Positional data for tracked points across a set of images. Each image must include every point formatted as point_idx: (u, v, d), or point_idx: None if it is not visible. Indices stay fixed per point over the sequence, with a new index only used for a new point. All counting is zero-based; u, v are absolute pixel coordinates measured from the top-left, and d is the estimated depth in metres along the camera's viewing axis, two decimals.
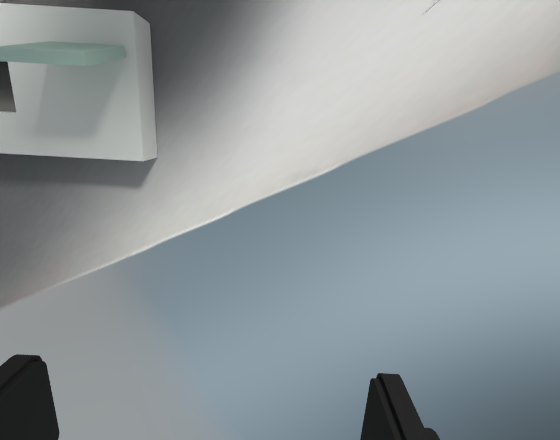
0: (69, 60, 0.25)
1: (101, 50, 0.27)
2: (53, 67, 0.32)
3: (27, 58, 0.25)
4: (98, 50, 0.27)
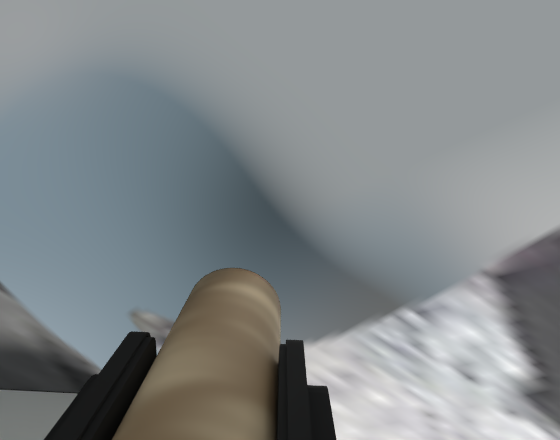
0: None
1: None
2: None
3: None
4: None
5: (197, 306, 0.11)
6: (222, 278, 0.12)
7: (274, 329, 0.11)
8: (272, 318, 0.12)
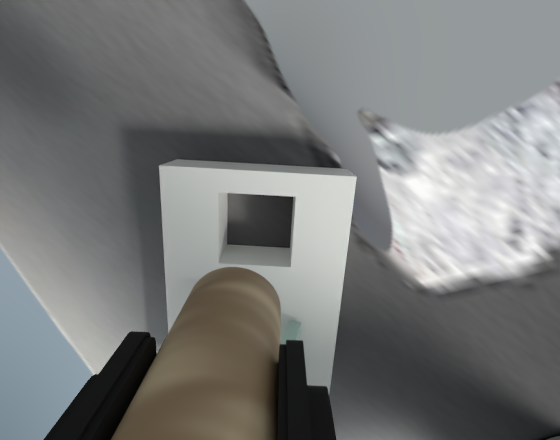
0: None
1: None
2: None
3: None
4: None
5: (197, 305, 0.11)
6: (222, 277, 0.12)
7: (274, 328, 0.11)
8: (272, 316, 0.12)
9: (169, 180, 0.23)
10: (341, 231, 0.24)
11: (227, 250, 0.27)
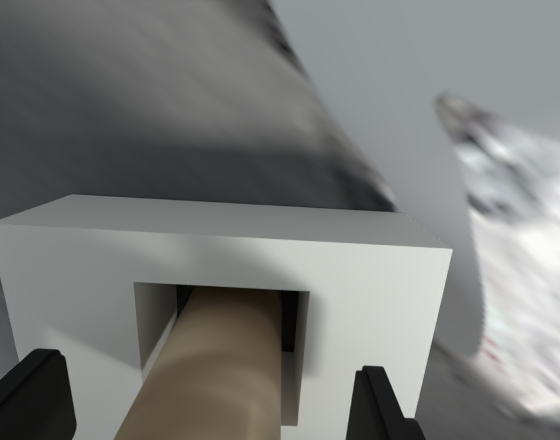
0: None
1: None
2: None
3: None
4: None
5: (205, 291, 0.12)
6: None
7: (276, 313, 0.12)
8: (274, 302, 0.13)
9: (17, 256, 0.10)
10: (408, 361, 0.11)
11: None
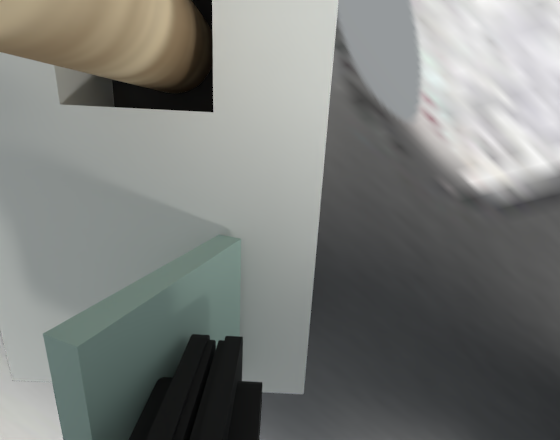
0: None
1: None
2: (187, 227, 0.13)
3: (69, 426, 0.07)
4: None
5: None
6: None
7: (193, 5, 0.12)
8: (194, 5, 0.12)
9: None
10: (318, 19, 0.11)
11: None
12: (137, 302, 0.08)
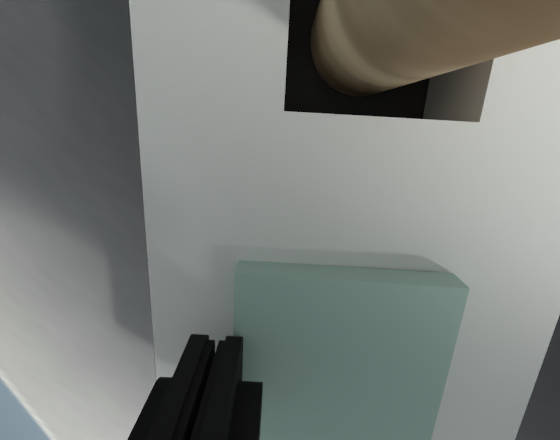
0: None
1: None
2: (414, 263, 0.11)
3: None
4: None
5: None
6: None
7: None
8: None
9: None
10: None
11: None
12: (293, 275, 0.10)
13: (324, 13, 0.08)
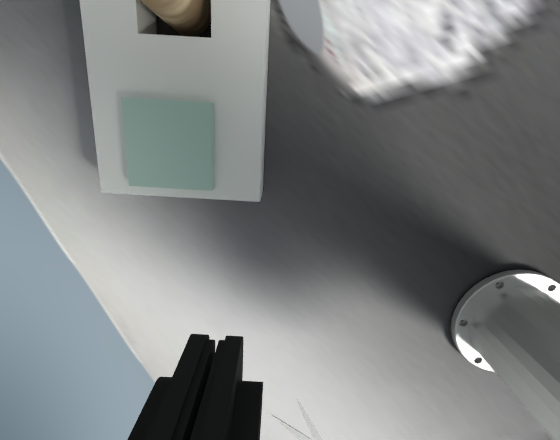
0: None
1: (161, 187, 0.27)
2: (198, 99, 0.26)
3: None
4: (155, 186, 0.27)
5: None
6: None
7: None
8: None
9: None
10: None
11: None
12: None
13: None
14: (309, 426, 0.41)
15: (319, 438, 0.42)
